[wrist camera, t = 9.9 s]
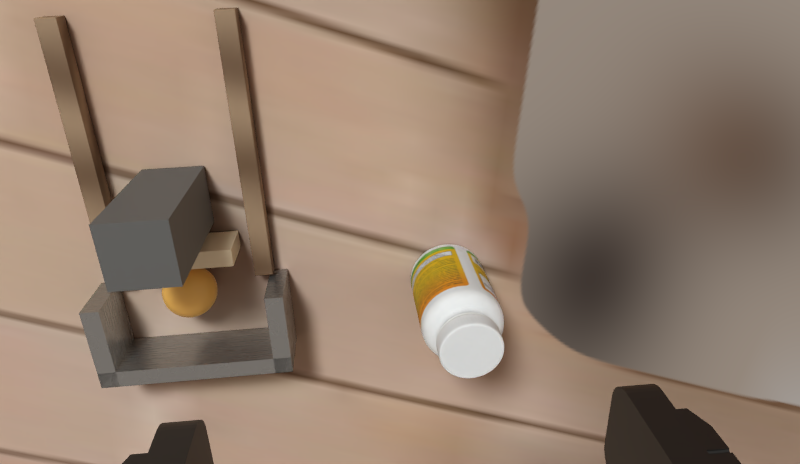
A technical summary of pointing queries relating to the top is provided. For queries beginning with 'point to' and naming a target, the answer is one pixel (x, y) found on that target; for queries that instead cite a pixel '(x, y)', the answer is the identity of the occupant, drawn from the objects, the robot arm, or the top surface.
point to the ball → (192, 294)
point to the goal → (188, 343)
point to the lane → (85, 143)
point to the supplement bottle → (458, 310)
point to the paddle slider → (160, 231)
